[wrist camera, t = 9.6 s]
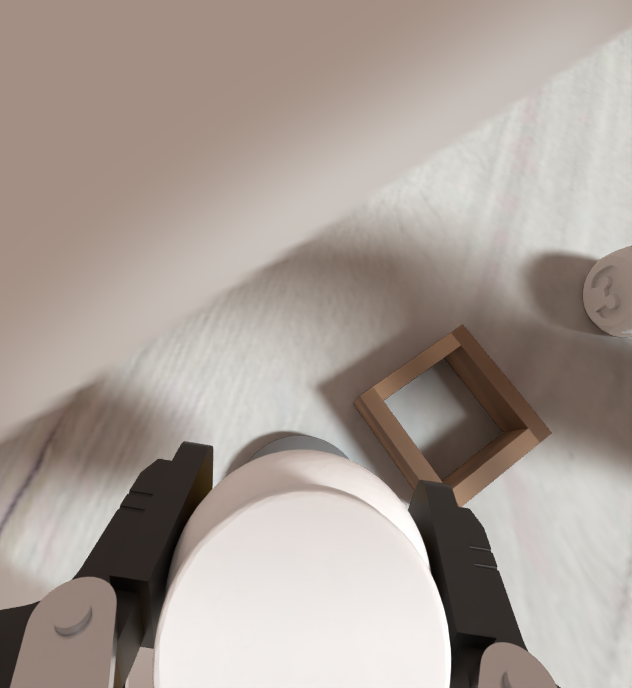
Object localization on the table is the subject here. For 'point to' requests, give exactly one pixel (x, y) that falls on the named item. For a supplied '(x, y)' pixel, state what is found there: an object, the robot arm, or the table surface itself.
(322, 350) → the table surface
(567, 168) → the table surface
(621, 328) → the die
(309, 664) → the supplement bottle
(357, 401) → the walnut collar
